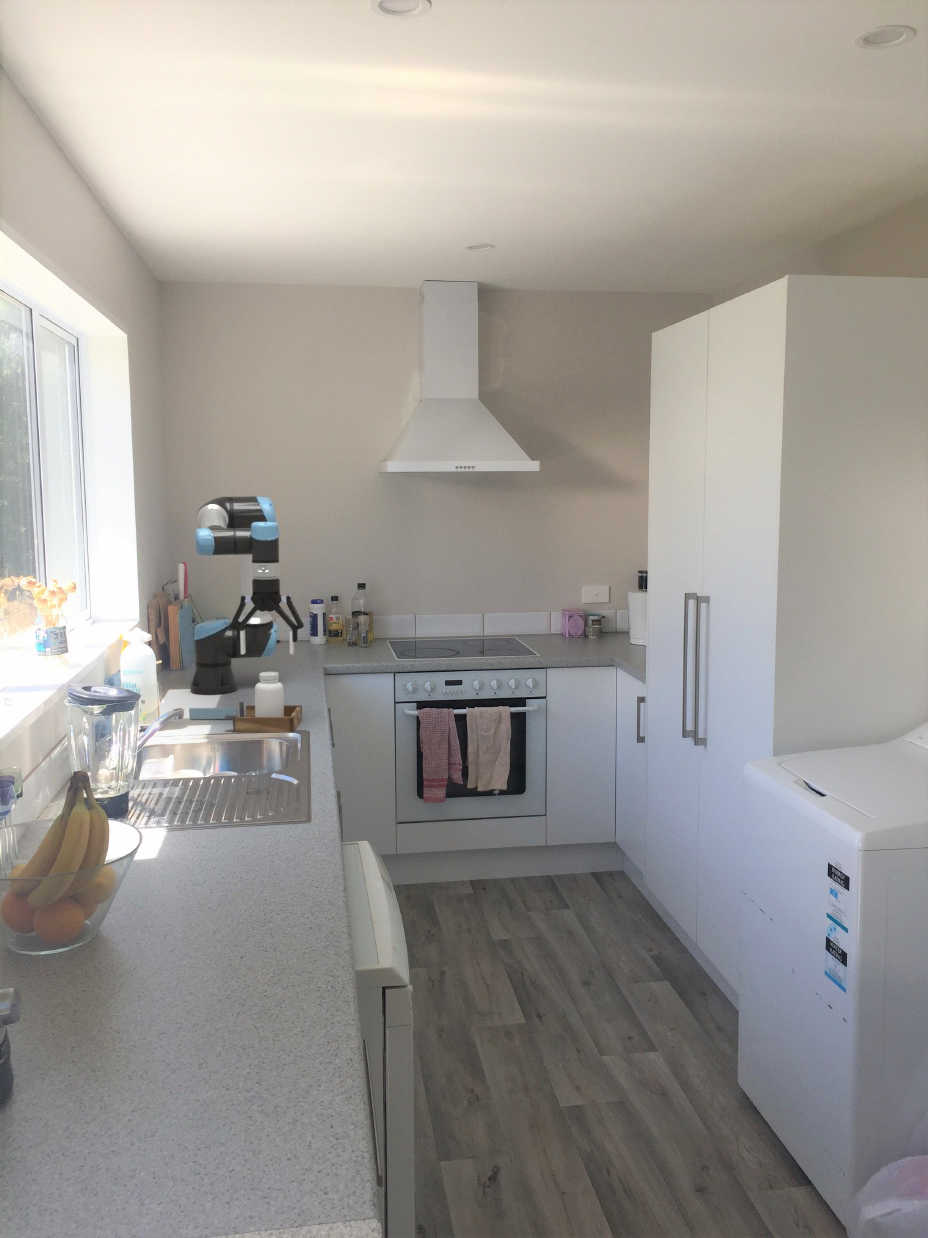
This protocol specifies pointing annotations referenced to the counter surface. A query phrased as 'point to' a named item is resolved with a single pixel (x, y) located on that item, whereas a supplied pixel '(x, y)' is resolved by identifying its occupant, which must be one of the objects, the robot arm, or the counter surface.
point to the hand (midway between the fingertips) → (267, 653)
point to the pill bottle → (269, 696)
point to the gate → (211, 713)
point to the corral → (266, 720)
